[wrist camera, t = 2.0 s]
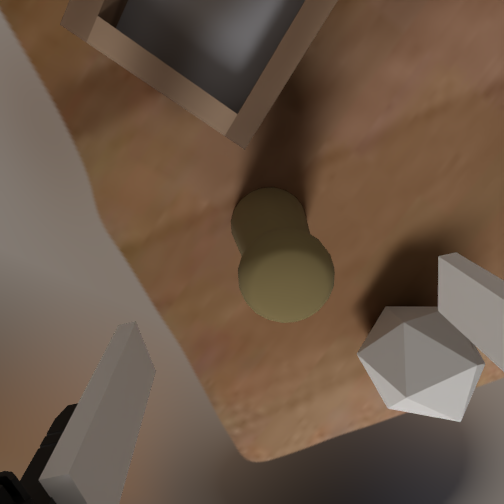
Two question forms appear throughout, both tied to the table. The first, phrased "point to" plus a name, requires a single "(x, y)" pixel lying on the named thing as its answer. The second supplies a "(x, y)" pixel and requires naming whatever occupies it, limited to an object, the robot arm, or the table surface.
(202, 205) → the table surface
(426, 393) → the die
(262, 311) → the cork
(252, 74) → the wooden tray
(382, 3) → the table surface
